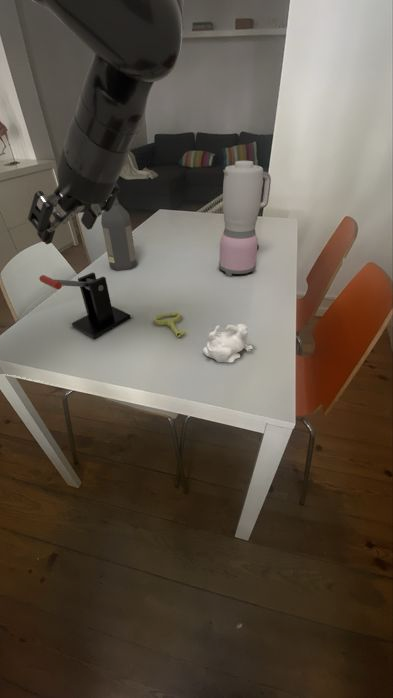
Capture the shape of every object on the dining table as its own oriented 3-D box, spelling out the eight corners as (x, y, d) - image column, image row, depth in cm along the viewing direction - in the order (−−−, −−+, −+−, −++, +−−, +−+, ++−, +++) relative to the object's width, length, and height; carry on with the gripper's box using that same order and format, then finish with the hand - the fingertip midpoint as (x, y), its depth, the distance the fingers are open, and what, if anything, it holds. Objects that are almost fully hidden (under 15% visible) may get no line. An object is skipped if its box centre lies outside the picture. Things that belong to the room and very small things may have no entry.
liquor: (135, 259, 117) (122, 166, 99) (137, 269, 110) (123, 171, 92) (110, 261, 116) (92, 168, 97) (110, 272, 109) (91, 173, 90)
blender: (228, 280, 102) (234, 167, 83) (212, 266, 111) (214, 160, 91) (270, 271, 107) (285, 162, 87) (251, 258, 116) (261, 157, 96)
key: (178, 342, 76) (177, 334, 75) (150, 321, 84) (149, 314, 83) (201, 331, 80) (201, 324, 79) (172, 312, 88) (172, 305, 86)
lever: (54, 291, 66) (55, 280, 66) (38, 283, 69) (39, 272, 69) (104, 293, 77) (106, 283, 76) (89, 286, 80) (91, 277, 79)
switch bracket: (94, 339, 78) (81, 292, 70) (72, 327, 82) (58, 282, 74) (130, 318, 85) (123, 273, 77) (109, 308, 90) (99, 265, 82)
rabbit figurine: (252, 346, 75) (256, 310, 69) (259, 367, 69) (265, 330, 63) (201, 348, 74) (201, 313, 68) (204, 370, 68) (204, 333, 62)
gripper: (115, 129, 46) (85, 204, 59) (26, 139, 37) (12, 225, 50) (147, 172, 47) (110, 237, 60) (67, 192, 38) (43, 264, 51)
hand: (66, 232), depth 55 cm, fingers open, 8 cm apart
